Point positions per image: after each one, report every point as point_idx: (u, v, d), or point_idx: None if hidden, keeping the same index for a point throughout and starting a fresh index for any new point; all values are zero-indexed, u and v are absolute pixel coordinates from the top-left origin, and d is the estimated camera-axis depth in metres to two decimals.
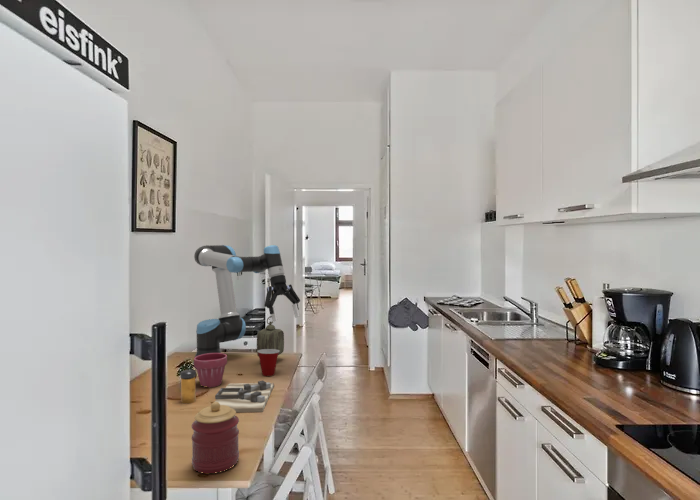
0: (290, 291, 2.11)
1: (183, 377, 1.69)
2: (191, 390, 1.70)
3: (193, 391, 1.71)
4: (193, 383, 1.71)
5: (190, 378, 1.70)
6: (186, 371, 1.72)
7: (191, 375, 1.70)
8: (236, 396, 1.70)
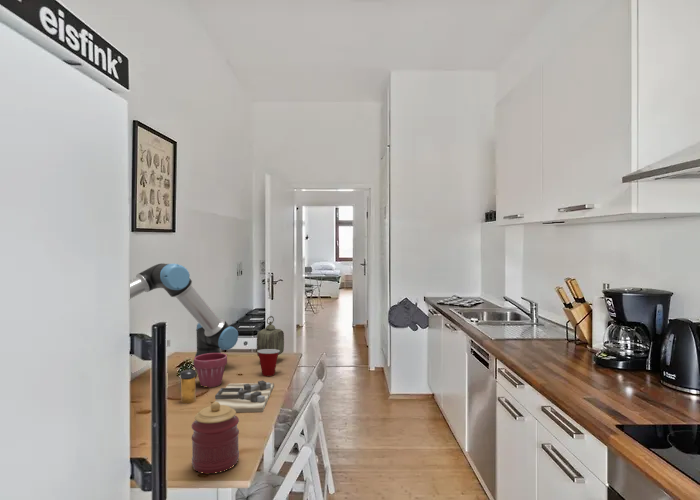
0: None
1: (183, 377, 1.69)
2: (191, 390, 1.70)
3: (193, 391, 1.71)
4: (193, 383, 1.71)
5: (190, 378, 1.70)
6: (186, 371, 1.72)
7: (191, 375, 1.70)
8: (236, 396, 1.70)
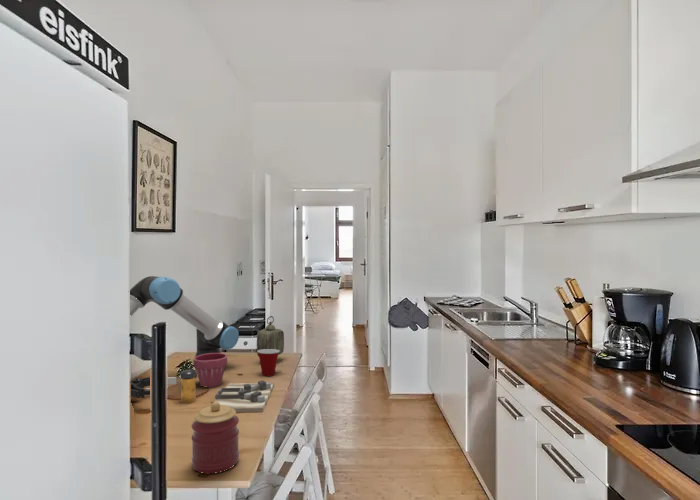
0: None
1: (183, 377, 1.69)
2: (191, 390, 1.70)
3: (193, 391, 1.71)
4: (193, 383, 1.71)
5: (190, 378, 1.70)
6: (186, 371, 1.72)
7: (191, 375, 1.70)
8: (236, 396, 1.70)
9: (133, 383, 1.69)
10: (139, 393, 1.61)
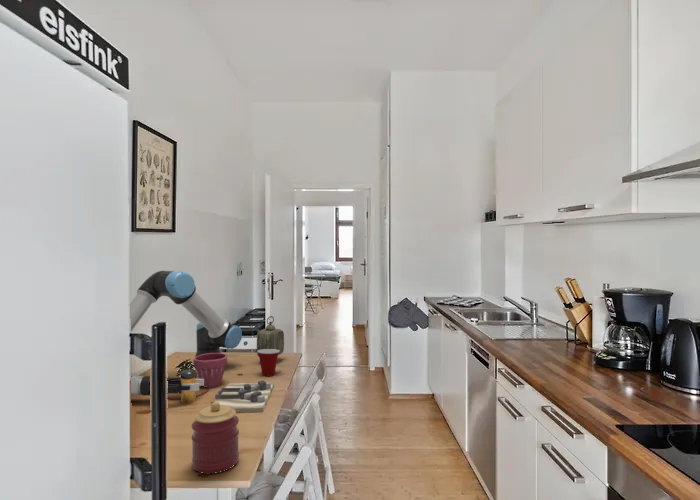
0: None
1: (183, 377, 1.69)
2: None
3: (193, 391, 1.71)
4: (193, 383, 1.71)
5: (190, 378, 1.70)
6: (186, 371, 1.72)
7: (191, 375, 1.70)
8: (236, 396, 1.70)
9: None
10: (177, 388, 1.66)
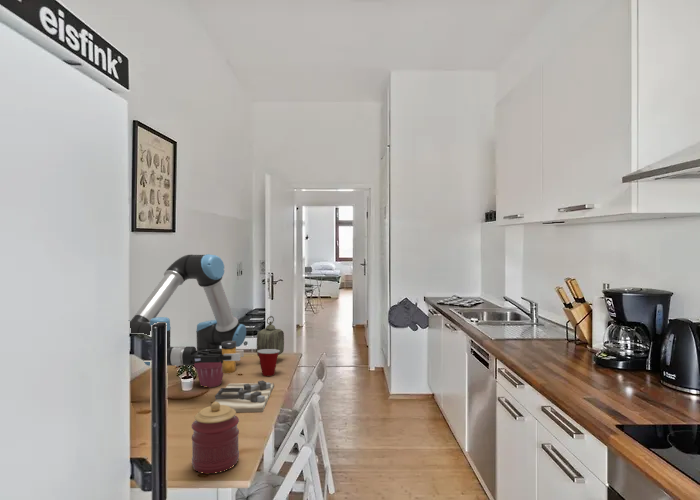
0: None
1: (224, 347, 1.72)
2: None
3: (234, 361, 1.74)
4: (234, 353, 1.74)
5: (231, 348, 1.72)
6: (227, 342, 1.75)
7: (232, 345, 1.73)
8: (236, 396, 1.70)
9: (202, 352, 1.73)
10: (219, 358, 1.69)
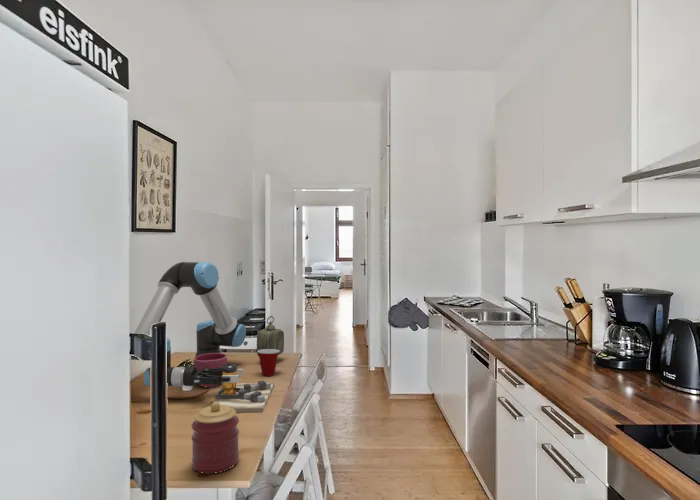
0: None
1: (225, 370, 1.72)
2: (233, 384, 1.73)
3: (234, 385, 1.74)
4: None
5: (232, 372, 1.73)
6: (228, 365, 1.75)
7: (233, 368, 1.73)
8: (236, 396, 1.70)
9: (203, 372, 1.73)
10: (218, 380, 1.67)
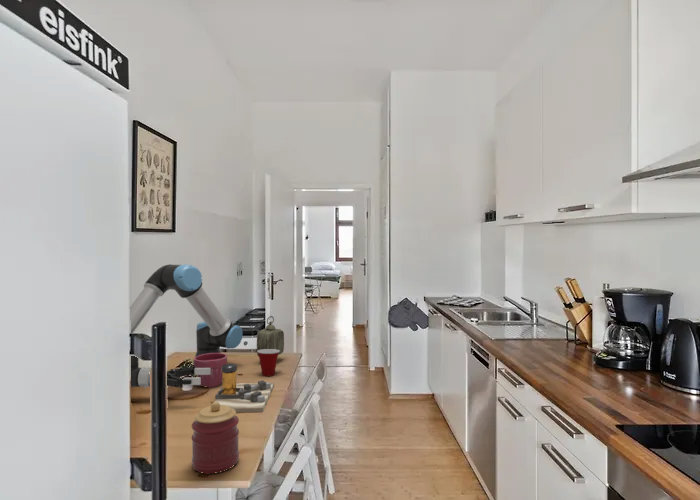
0: None
1: (225, 371, 1.72)
2: (232, 384, 1.73)
3: (234, 385, 1.74)
4: (234, 377, 1.74)
5: (232, 372, 1.73)
6: (227, 365, 1.75)
7: (233, 369, 1.73)
8: (236, 396, 1.70)
9: (170, 373, 1.72)
10: (178, 382, 1.64)
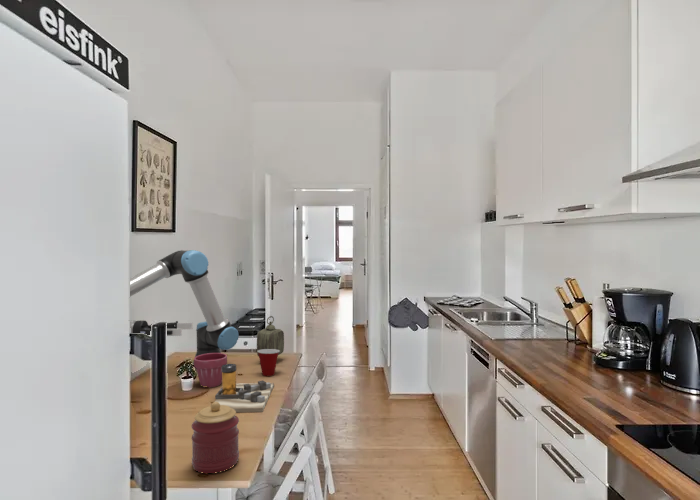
0: None
1: (225, 371, 1.72)
2: (232, 384, 1.73)
3: (234, 385, 1.74)
4: (234, 377, 1.74)
5: (231, 372, 1.73)
6: (227, 365, 1.75)
7: (232, 369, 1.73)
8: (236, 396, 1.70)
9: None
10: None
